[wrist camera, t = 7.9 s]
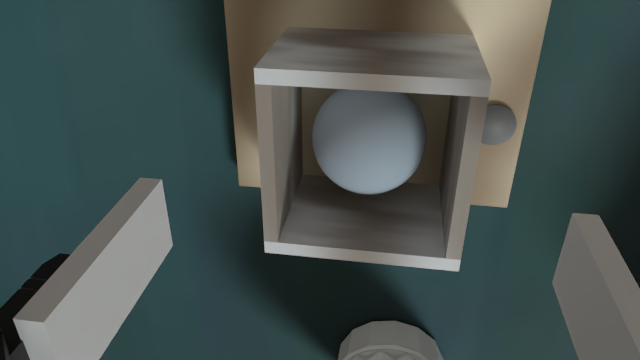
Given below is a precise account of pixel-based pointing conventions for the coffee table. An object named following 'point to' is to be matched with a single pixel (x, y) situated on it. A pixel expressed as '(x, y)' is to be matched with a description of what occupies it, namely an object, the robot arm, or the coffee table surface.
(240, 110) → the rack
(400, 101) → the grey ball
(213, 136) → the coffee table surface
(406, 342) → the white cup
